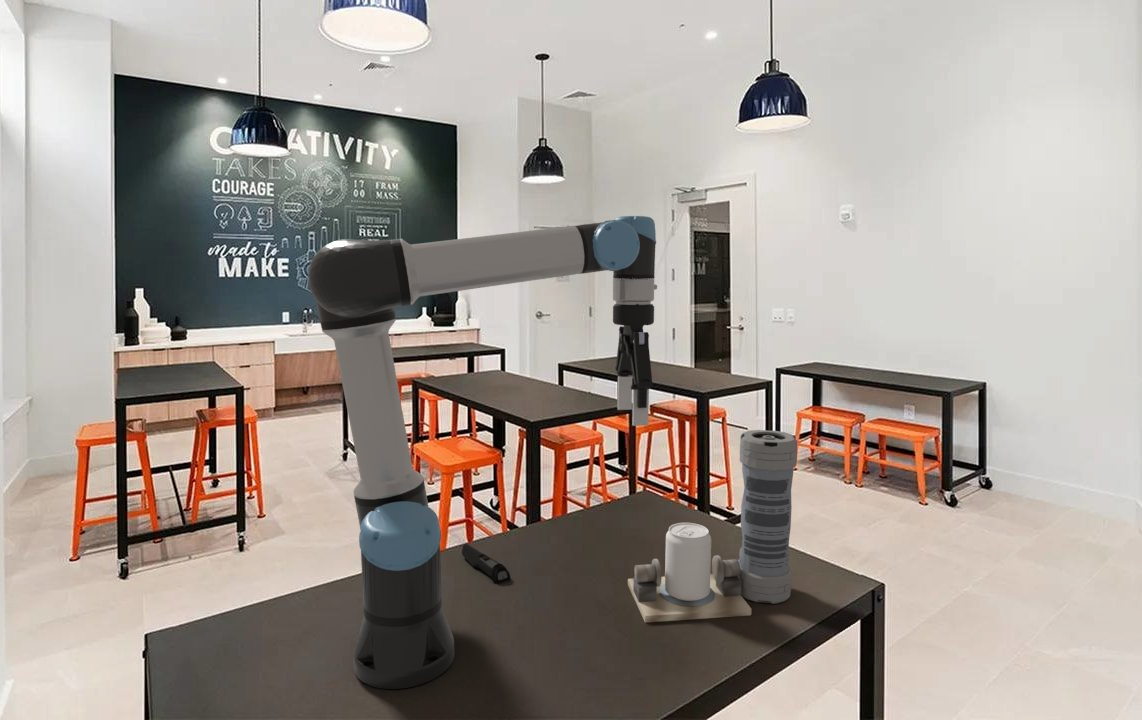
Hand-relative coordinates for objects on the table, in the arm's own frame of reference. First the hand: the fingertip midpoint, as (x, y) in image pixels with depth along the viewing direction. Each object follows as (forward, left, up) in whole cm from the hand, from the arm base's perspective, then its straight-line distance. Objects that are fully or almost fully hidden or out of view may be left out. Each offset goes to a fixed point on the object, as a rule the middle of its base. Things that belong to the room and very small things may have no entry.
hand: (632, 417), depth 124 cm
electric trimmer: (-28, +10, -33) cm, 44 cm away
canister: (+24, -7, -33) cm, 41 cm away
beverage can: (+9, -8, -31) cm, 34 cm away
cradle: (+9, -8, -33) cm, 35 cm away
